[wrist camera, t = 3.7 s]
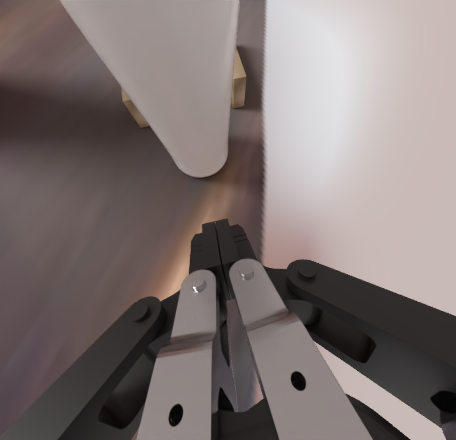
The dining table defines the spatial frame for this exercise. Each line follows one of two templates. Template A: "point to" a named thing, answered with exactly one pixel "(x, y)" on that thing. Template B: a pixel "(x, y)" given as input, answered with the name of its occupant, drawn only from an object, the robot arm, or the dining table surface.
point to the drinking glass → (171, 68)
